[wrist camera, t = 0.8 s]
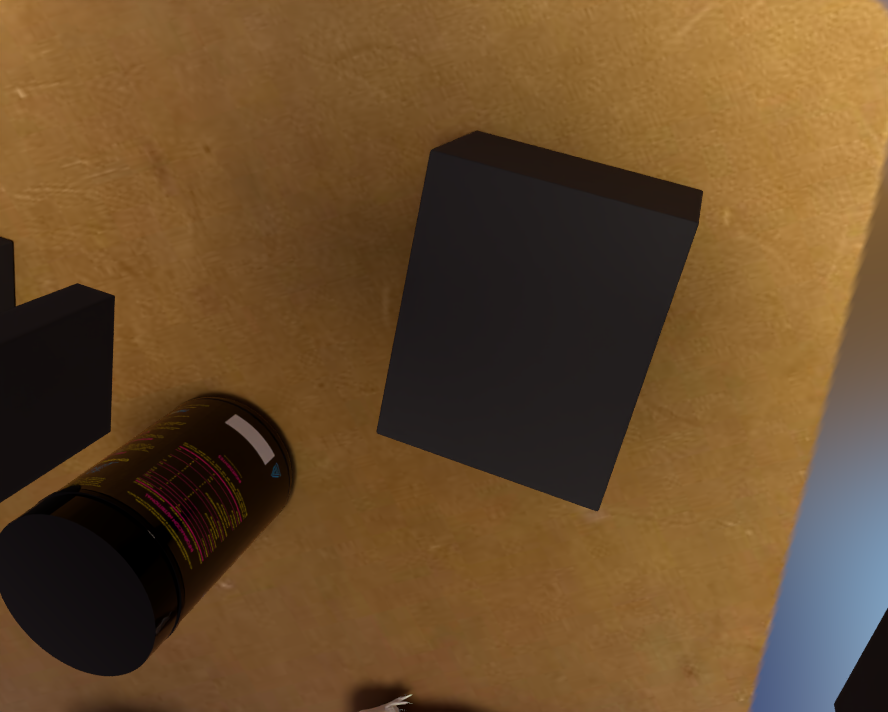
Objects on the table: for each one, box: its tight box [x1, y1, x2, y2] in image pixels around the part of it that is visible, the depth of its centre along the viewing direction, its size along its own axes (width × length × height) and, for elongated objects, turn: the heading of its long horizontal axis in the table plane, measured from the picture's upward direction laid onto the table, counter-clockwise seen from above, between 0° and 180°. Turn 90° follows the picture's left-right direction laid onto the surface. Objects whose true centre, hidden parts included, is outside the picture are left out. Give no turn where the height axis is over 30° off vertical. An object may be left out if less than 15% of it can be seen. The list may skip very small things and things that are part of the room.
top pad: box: [377, 131, 703, 511], centre depth 27 cm, size 10×8×5 cm
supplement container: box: [0, 397, 292, 676], centre depth 33 cm, size 7×7×10 cm
